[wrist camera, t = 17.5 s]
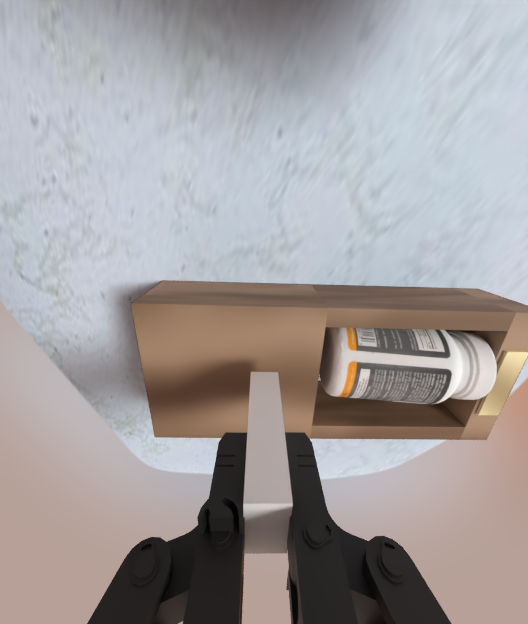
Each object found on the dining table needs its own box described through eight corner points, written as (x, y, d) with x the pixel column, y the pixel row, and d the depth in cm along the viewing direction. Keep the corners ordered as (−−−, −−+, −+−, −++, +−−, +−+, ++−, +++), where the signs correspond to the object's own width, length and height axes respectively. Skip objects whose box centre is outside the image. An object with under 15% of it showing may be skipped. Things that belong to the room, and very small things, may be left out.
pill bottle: (314, 381, 20) (436, 392, 20) (331, 408, 15) (502, 424, 14) (320, 313, 20) (442, 323, 20) (339, 314, 15) (510, 327, 14)
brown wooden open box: (163, 280, 18) (128, 304, 13) (478, 288, 19) (553, 314, 14) (176, 389, 22) (153, 439, 17) (439, 393, 23) (488, 442, 18)
